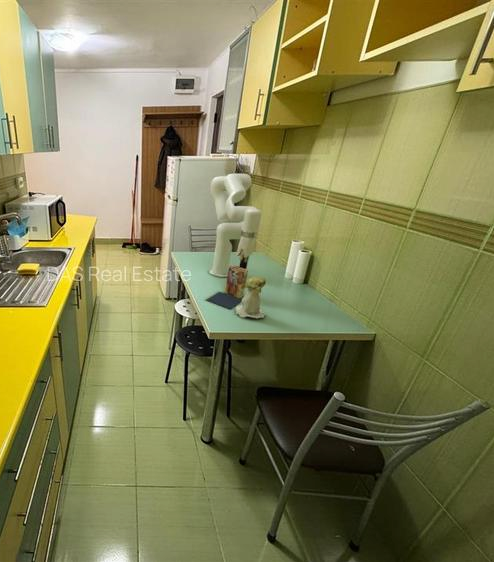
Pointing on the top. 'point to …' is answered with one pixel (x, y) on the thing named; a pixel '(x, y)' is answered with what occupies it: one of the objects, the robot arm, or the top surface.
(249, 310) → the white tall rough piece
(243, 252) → the robot arm
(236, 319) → the top surface
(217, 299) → the mat
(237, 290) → the candy box
